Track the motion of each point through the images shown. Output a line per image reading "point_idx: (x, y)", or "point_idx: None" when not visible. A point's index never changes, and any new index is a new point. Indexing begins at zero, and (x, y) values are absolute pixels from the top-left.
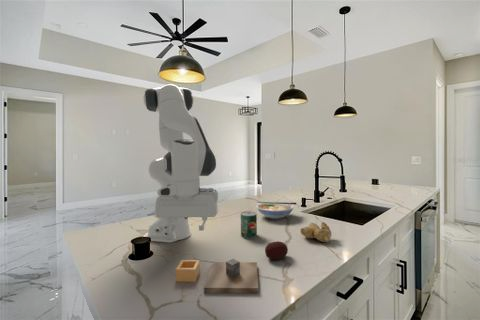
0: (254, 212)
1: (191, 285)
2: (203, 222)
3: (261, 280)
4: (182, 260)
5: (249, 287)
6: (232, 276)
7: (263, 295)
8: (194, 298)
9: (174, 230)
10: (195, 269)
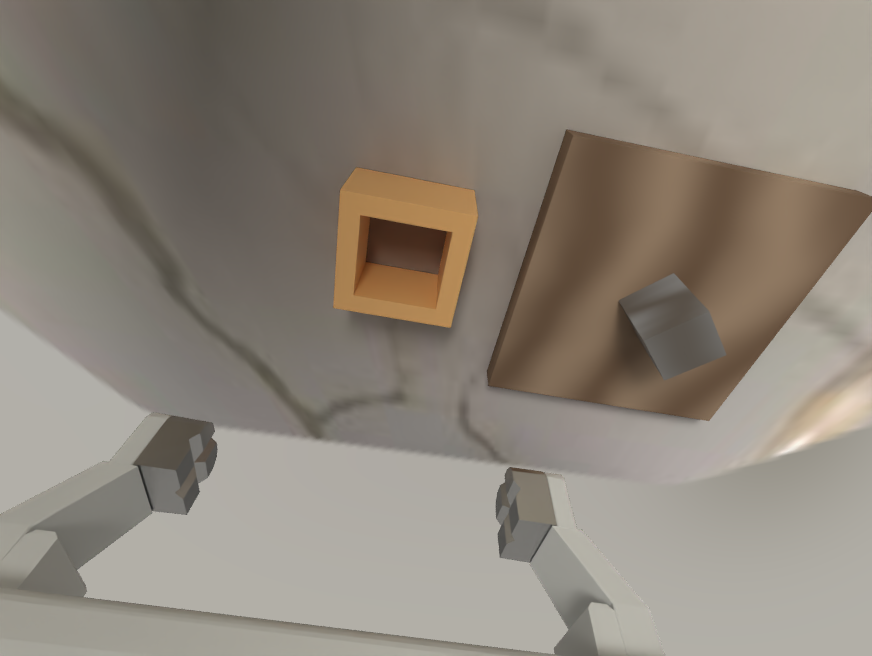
0: None
1: None
2: (565, 608)
3: None
4: (349, 199)
5: (677, 411)
6: (639, 340)
7: None
8: (448, 394)
9: (210, 458)
10: (450, 327)
